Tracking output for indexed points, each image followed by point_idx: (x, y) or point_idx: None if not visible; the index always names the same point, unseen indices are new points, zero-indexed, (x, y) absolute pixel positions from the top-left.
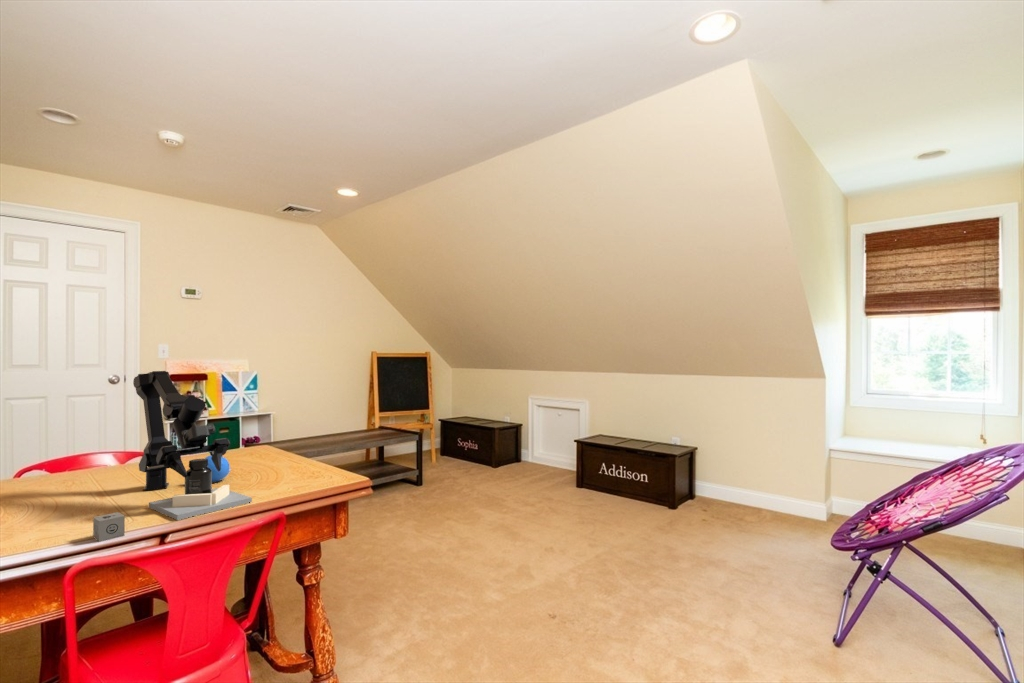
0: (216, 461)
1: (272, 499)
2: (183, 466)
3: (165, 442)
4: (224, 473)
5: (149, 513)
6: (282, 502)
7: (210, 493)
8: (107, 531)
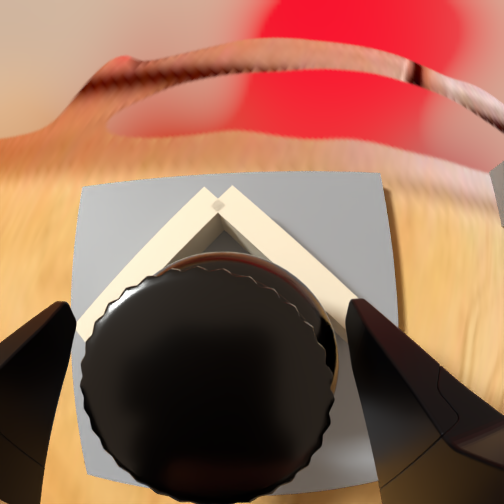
0: (24, 384)
1: (43, 181)
2: (399, 360)
3: None
4: None
5: None
6: (57, 127)
7: (220, 211)
8: None
